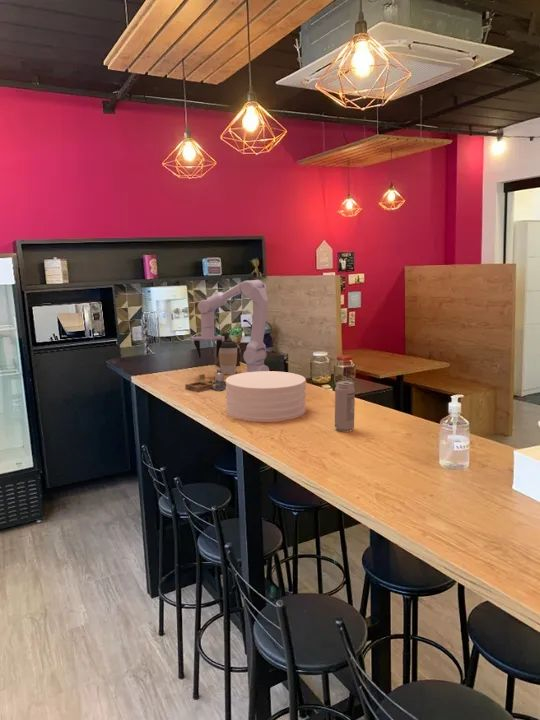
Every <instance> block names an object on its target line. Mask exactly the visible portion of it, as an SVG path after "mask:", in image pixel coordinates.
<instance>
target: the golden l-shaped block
mask: <svg viewBox="0 0 540 720" xmlns="http://www.w3.org/2000/svg"><path fill="white" fill-rule="evenodd" d="M199 381H201V382H206V383H210V384H213V382H214V381H213V379H208V378H205V374H204V373H202V374H201V373H200V374H198V382H199ZM213 385H214V384H213Z"/></svg>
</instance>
